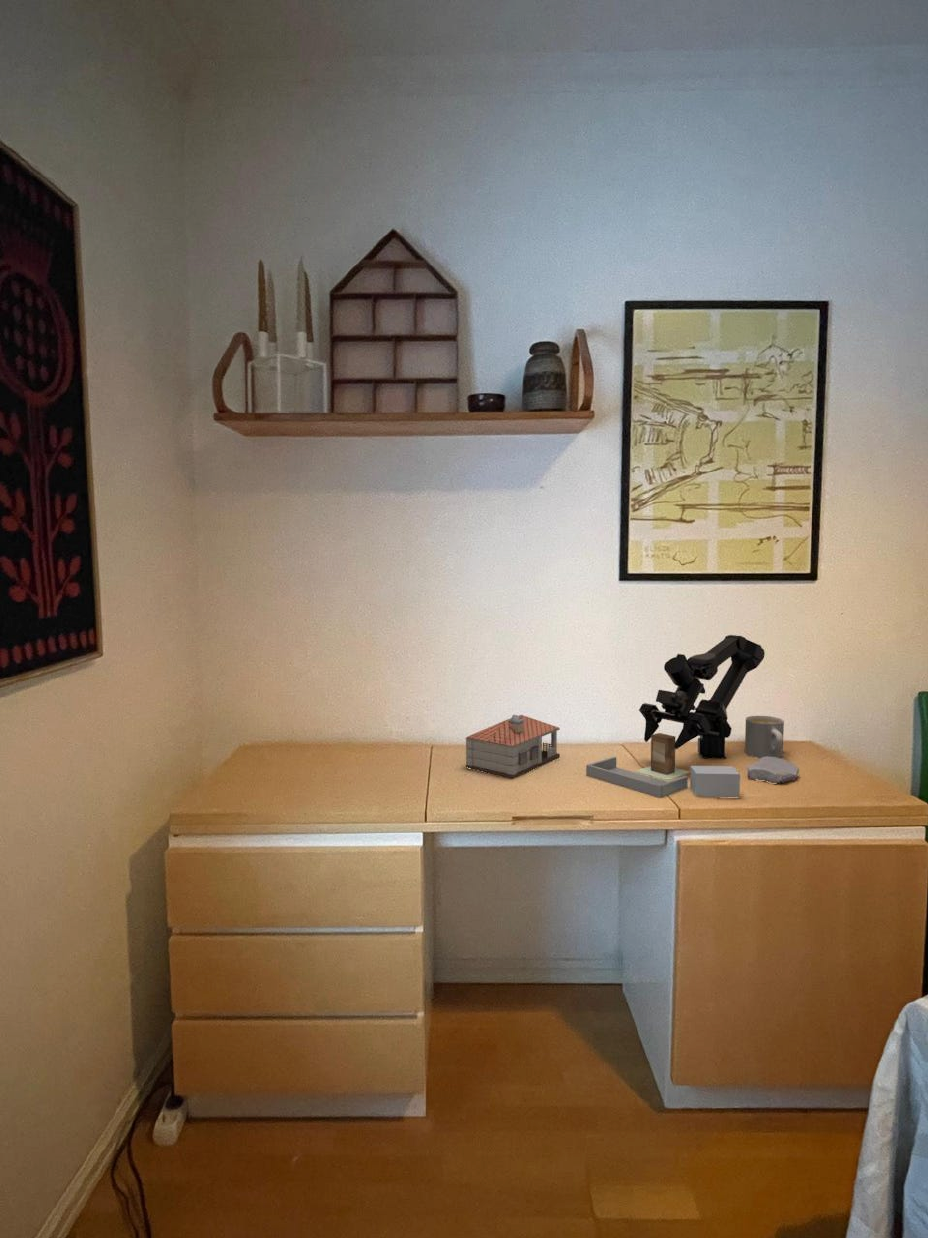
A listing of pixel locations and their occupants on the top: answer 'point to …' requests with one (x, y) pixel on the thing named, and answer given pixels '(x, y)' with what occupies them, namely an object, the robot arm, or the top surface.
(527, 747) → the model house
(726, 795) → the greyblue box
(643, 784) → the parts tray
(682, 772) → the pad
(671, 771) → the walnut box
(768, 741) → the coffee mug
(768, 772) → the stone block
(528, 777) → the top surface
